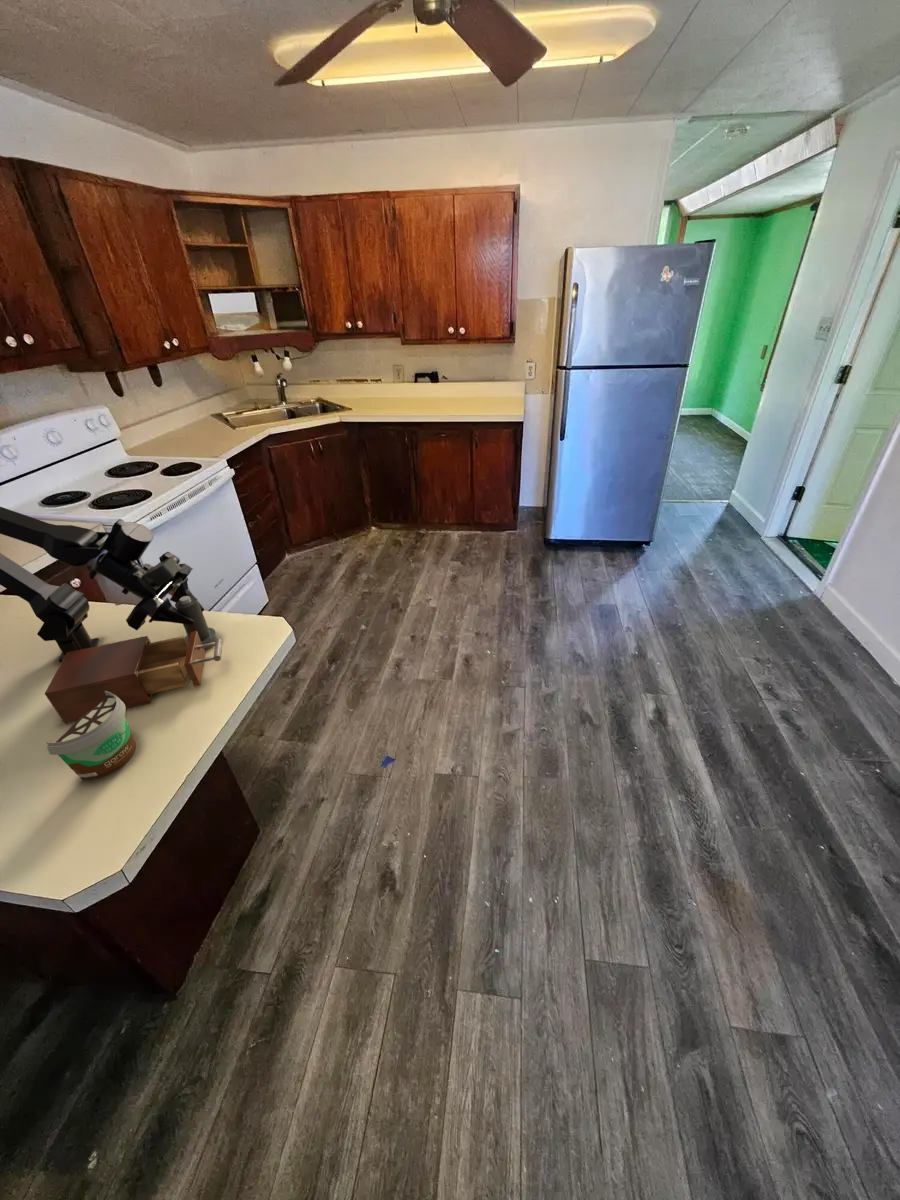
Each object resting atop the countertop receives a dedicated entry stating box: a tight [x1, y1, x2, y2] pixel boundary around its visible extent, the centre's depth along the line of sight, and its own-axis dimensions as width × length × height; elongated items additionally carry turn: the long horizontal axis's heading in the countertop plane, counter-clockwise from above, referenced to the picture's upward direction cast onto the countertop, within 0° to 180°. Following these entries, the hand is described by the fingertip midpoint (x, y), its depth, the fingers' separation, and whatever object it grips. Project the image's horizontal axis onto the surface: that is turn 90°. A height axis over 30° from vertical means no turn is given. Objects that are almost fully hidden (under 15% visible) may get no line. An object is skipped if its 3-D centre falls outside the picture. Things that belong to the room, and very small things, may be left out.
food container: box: [46, 691, 137, 781], centre depth 80 cm, size 12×6×10 cm, turn 168°
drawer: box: [137, 631, 224, 694], centre depth 98 cm, size 18×11×6 cm, turn 109°
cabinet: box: [44, 635, 154, 724], centre depth 95 cm, size 15×13×8 cm
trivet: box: [184, 626, 219, 651], centre depth 109 cm, size 7×7×2 cm
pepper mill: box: [174, 596, 210, 640], centre depth 106 cm, size 4×4×10 cm
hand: (198, 617), depth 106 cm, fingers closed on pepper mill, 4 cm apart
